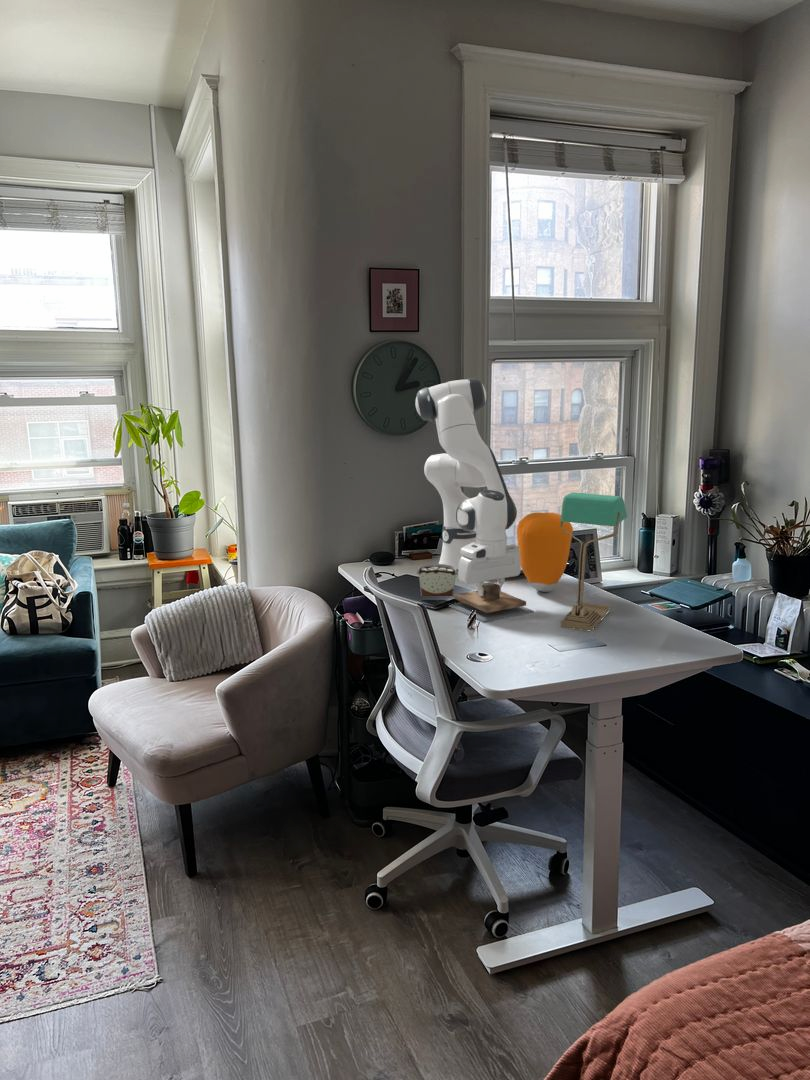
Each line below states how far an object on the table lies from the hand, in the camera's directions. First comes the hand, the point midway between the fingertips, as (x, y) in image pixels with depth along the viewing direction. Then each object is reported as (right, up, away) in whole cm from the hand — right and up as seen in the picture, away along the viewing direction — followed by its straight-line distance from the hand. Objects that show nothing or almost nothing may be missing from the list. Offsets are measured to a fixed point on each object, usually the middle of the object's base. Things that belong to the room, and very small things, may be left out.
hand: (489, 594), depth 236 cm
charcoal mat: (0, -4, +1) cm, 4 cm away
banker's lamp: (+26, -7, -7) cm, 28 cm away
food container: (-15, -2, +12) cm, 19 cm away
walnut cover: (0, -2, 0) cm, 2 cm away
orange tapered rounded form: (+19, -1, +19) cm, 26 cm away
